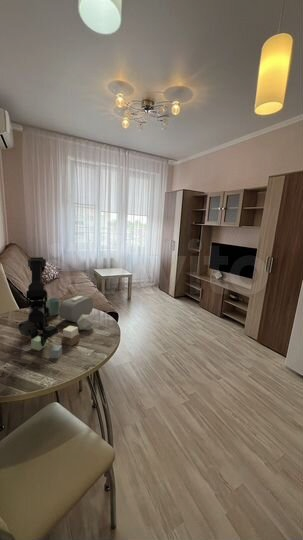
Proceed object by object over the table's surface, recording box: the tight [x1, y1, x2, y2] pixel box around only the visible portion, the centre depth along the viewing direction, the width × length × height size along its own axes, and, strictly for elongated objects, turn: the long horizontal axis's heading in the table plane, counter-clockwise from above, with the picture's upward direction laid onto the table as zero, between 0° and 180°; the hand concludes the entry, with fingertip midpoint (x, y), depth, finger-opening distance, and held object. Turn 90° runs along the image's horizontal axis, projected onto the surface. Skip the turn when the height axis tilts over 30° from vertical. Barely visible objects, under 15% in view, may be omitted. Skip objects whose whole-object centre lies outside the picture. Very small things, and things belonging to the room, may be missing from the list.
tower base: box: [61, 332, 81, 347], centre depth 111 cm, size 6×6×4 cm
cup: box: [46, 297, 61, 317], centre depth 141 cm, size 8×8×10 cm
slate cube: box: [48, 344, 63, 359], centre depth 99 cm, size 4×4×4 cm
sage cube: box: [30, 336, 48, 351], centre depth 105 cm, size 4×4×4 cm
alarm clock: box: [58, 295, 94, 323], centre depth 138 cm, size 21×10×13 cm, turn 159°
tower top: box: [62, 325, 79, 338], centre depth 110 cm, size 5×5×4 cm
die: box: [76, 314, 95, 331], centre depth 125 cm, size 8×9×10 cm
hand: (39, 344), depth 105 cm, fingers closed on sage cube, 4 cm apart
